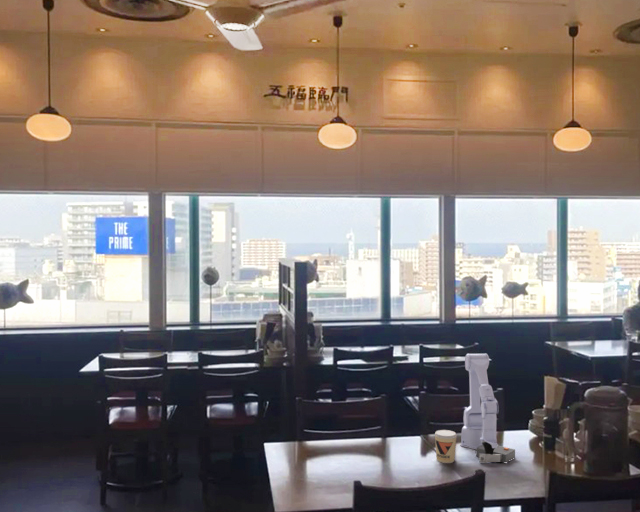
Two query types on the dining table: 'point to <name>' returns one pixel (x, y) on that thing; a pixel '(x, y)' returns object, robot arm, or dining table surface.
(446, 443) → the coffee cup
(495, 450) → the camera case
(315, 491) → the dining table surface
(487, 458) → the side door
